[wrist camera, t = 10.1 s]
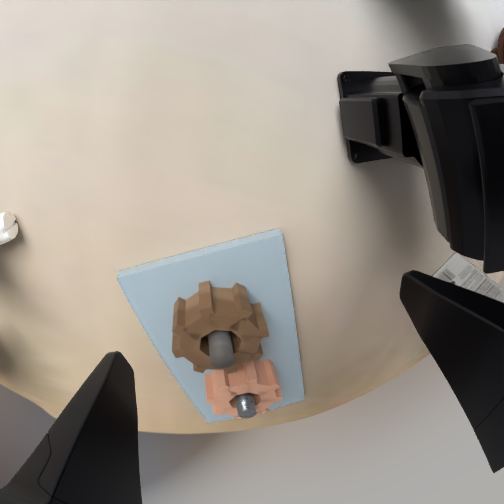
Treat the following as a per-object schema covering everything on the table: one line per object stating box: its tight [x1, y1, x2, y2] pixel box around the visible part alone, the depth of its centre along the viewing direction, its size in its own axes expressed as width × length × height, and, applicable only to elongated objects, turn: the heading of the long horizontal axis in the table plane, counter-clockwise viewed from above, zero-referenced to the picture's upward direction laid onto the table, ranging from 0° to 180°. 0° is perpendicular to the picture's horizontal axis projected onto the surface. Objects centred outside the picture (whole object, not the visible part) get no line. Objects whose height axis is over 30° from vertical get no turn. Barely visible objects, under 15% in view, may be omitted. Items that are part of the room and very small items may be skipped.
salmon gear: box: [205, 359, 283, 419], centre depth 24 cm, size 7×7×3 cm
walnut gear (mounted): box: [172, 281, 269, 374], centre depth 19 cm, size 7×7×4 cm
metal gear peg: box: [235, 392, 257, 418], centre depth 23 cm, size 2×2×4 cm
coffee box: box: [433, 253, 504, 303], centre depth 20 cm, size 9×6×16 cm
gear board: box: [117, 229, 305, 423], centre depth 24 cm, size 12×22×1 cm, turn 11°
